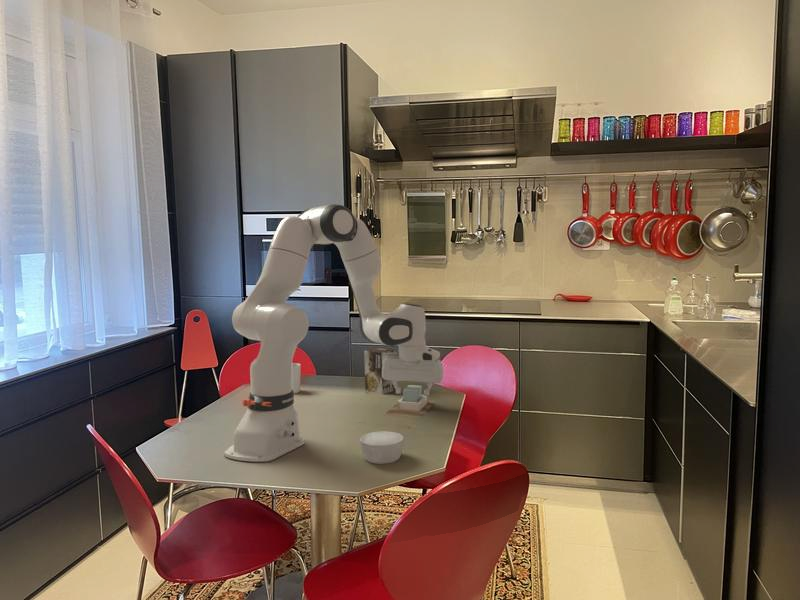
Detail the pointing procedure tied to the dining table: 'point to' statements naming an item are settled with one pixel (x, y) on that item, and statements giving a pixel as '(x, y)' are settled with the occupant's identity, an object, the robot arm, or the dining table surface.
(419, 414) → the walnut board
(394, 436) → the ramekin
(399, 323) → the robot arm
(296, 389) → the drinking glass
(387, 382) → the coffee box
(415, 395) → the keyed plug
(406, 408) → the socket
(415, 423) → the dining table surface
